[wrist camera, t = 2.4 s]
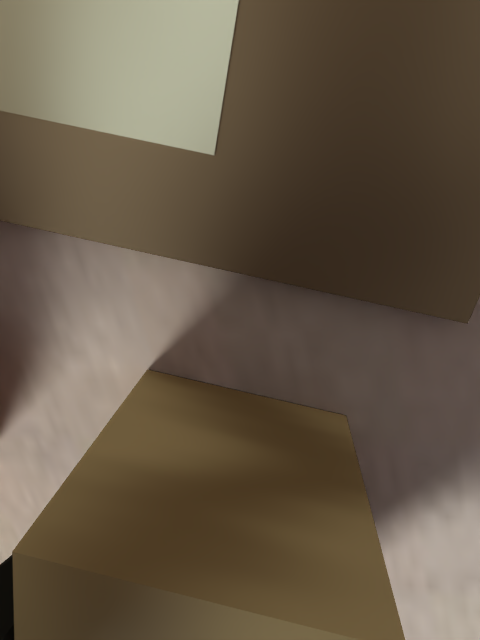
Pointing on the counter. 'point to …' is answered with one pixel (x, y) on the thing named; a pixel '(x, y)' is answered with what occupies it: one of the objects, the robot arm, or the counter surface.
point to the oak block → (207, 528)
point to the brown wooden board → (255, 138)
